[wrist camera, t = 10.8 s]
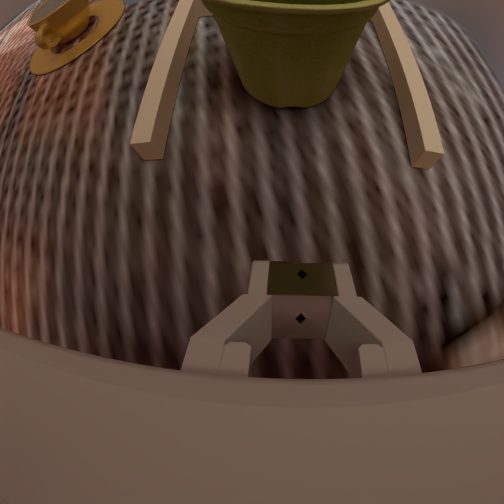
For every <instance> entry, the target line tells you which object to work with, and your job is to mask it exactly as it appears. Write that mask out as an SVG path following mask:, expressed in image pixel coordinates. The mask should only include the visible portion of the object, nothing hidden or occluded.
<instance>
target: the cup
mask: <svg viewBox="0 0 504 504" xmlns="http://www.w3.org/2000/svg"><path fill="white" fill-rule="evenodd" d="M124 9H125V4H124V2H123V1H121V0H102V1H98V2H95V3H93V4H90V5H89V0H46V1H45V2H44V3H43V4H42V5H41V6H40V7H38V8H37V9H36V11H35V12H34V13H33V14H32V15H31V16H30V18H29V20H28V22H27V24H28V26H29V27H31V28H32V29H33V30H34V31H35V32H36V35H35V41H36V44H37V45H38V47H37V49H36V50H35V52H34V54H33V56H32V58H31V61H30V71H31V73H33V74H35V75H41V74H46V73H49V72H51V71H53V70H56V69H58V68H60V67H62V66H63V65H65V64H67V63H68V62H70V61H72V60H73V59H75V58H76V57H78V56H79V55H81V54H82V53H83V52H85V51H86V50H87V49H89V48H90V47H91V46H93V45H94V44H95V43H96V42H97V41H99V40H100V39H101V38H102V37H103V36H104V35H105V34H106V33H107V32H108V31H109V30H110V29H111V28H112V27H113V26H114V25H115V24H116V23H117V22H118V20H119V19H120V17H121V16H122V14H123V12H124ZM92 15H96V16H98V17H99V23H98V25H97V26H96V28H95V29H94V30H93V31H92V32H91V33H90V34H89V35H88V36H87V37H86V38H85V39H83V40H82V41H81V42H79V43H78V44H77V45H75V46H74V47H72V48H70V49H68V50H66V51H64V52H62V53H58V54H54V53H52V52H51V48H53V47H55V46H56V45H57V44H58V43H67V42H70V41H72V40H74V39H75V38H77V37H78V36H79V35H80V34H82V33H83V32H84V31H85V29H86V28H87V26H88V24H89V16H92Z"/></svg>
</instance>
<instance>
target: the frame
mask: <svg viewBox="0 0 504 504" xmlns="http://www.w3.org/2000/svg"><path fill="white" fill-rule="evenodd" d="M204 16H213V14H212V13H211V12H210V11H209V10H208V9H207V8H206V7H205V6H204V4H203V3H202V1H201V0H180V1H179V3H178V5H177V7H176V10H175V12H174V14H173V16H172V19H171V21H170V23H169V26H168V28H167V31H166V33H165V36H164V38H163V41H162V43H161V46H160V48H159V51H158V54H157V57H156V59H155V62H154V65H153V68H152V71H151V74H150V76H149V79H148V82H147V86H146V89H145V92H144V95H143V98H142V102H141V105H140V108H139V112H138V115H137V119H136V123H135V126H134V130H133V134H132V138H131V142H130V145H131V146H132V147H133V148H134V149H135V150H136V151H137V153H138V154H139V155H140V156H141V157H142V158H143V159H144V160H156V159H163V157H164V151H165V146H166V141H167V136H168V131H169V126H170V122H171V117H172V113H173V108H174V104H175V100H176V96H177V91H178V87H179V83H180V80H181V76H182V72H183V68H184V65H185V61H186V57H187V54H188V50H189V47H190V44H191V40H192V37H193V34H194V30H195V27H196V24H197V21H198V18H199V17H204ZM370 21H372V22H373V25H374V27H375V30H376V33H377V35H378V38H379V41H380V44H381V46H382V49H383V52H384V55H385V58H386V62H387V65H388V68H389V71H390V74H391V78H392V81H393V85H394V88H395V92H396V96H397V100H398V104H399V108H400V112H401V116H402V120H403V125H404V130H405V134H406V139H407V145H408V150H409V155H410V161H411V167H417V168H424V169H430V168H431V167H432V166H433V165H434V164H435V163H436V162H437V161H438V160H439V159H440V157H441V156H442V155H443V154H444V151H443V147H442V143H441V139H440V135H439V131H438V127H437V123H436V120H435V116H434V113H433V109H432V106H431V103H430V100H429V97H428V94H427V91H426V88H425V85H424V82H423V79H422V76H421V74H420V71H419V68H418V66H417V63H416V60H415V58H414V56H413V53H412V51H411V48H410V46H409V44H408V41H407V39H406V37H405V35H404V32H403V30H402V28H401V26H400V24H399V22H398V20H397V18H396V16H395V14H394V12H393V10H392V8H391V6H390V4H389V2H387V3H386V4H384V5H382V6H380V7H379V8H378V10H377V12H376V13H375V15H374V16H373V17H372V18H371V19H370Z"/></svg>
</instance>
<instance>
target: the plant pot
mask: <svg viewBox="0 0 504 504" xmlns="http://www.w3.org/2000/svg"><path fill="white" fill-rule="evenodd" d="M201 1H202V3H203V4H204V6H205V7H206V8H207V9H208V10H209V11H210V12H211V13H212V14H213V16H214V18H215V20H216V22H217V25H218V27H219V29H220V31H221V34H222V36H223V38H224V41H225V43H226V46H227V48H228V50H229V53H230V55H231V57H232V60H233V62H234V65H235V67H236V70H237V72H238V75H239V77H240V80H241V82H242V84H243V86H244V88H245V89H246V91H247V92H248V93H249V94H250V95H251V96H252V97H254V98H255V99H257V100H258V101H260V102H262V103H265V104H267V105H270V106H273V107H277V108H282V107H303V108H307V107H311V106H314V105H317V104H319V103H321V102H323V101H325V100H326V99H327V98H329V97H330V96H331V94H332V93H333V92H334V90H335V89H336V86H337V84H338V82H339V80H340V78H341V76H342V74H343V71H344V69H345V67H346V65H347V62H348V60H349V58H350V56H351V54H352V52H353V50H354V48H355V45H356V43H357V41H358V39H359V37H360V35H361V33H362V31H363V29H364V27H365V25H366V23H367V21H369V20H370V19H371V18H372V17H373V16H374V15H375V13H376V12H377V10H378V8H379V7H380V6H382V5H384V4H386V3H387V2H388V1H389V0H201Z"/></svg>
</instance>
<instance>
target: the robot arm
mask: <svg viewBox="0 0 504 504" xmlns="http://www.w3.org/2000/svg"><path fill="white" fill-rule="evenodd" d="M271 338H301V339H325V341H326V343H327V344H328V345H329V347H330V348H331V349H332V351H333V352H334V353H335V355H336V356H337V357H338V359H339V360H340V361H341V363H342V364H343V365H344V366H345V368H346V369H347V370H348V372H349V375H348V377H347V379H279V378H257V377H253V370H252V363H253V362H254V361H255V359H256V358H257V357H258V356H259V354H260V353H261V352H262V351H263V350H264V348H265V347H266V346H267V345H268V343H269V342H270V341H271ZM0 504H504V359H502V360H498V361H493V362H488V363H483V364H478V365H472V366H467V367H461V368H455V369H448V370H441V371H434V372H426V373H422V371H421V367H420V364H419V360H418V357H417V354H416V350H415V347H414V344H413V341H412V340H411V339H410V338H409V337H408V336H406V335H405V334H404V333H403V332H402V331H401V330H400V329H398V328H397V327H396V326H395V325H394V324H393V323H391V322H390V321H389V320H388V319H387V318H386V317H384V316H383V315H382V314H381V313H380V312H379V311H378V310H376V309H375V308H374V307H373V306H372V305H370V304H369V303H368V302H367V301H366V300H365V299H363V298H362V297H357V295H356V291H355V287H354V283H353V279H352V275H351V271H350V267H349V264H348V263H301V262H280V261H270V262H269V261H253V263H252V269H251V275H250V281H249V288H248V294H242V295H241V296H240V297H239V298H238V299H236V300H235V301H234V302H233V303H232V304H230V305H229V306H228V307H227V308H226V309H224V310H223V311H222V312H221V313H219V314H218V315H217V316H216V317H215V318H213V319H212V320H211V321H210V322H208V323H207V324H206V325H205V326H204V327H202V328H201V329H200V330H199V331H197V332H196V333H195V334H194V335H193V336H191V338H190V341H189V344H188V347H187V351H186V354H185V357H184V360H183V364H182V367H181V370H174V369H167V368H161V367H154V366H148V365H142V364H137V363H131V362H126V361H121V360H116V359H111V358H106V357H101V356H97V355H92V354H88V353H84V352H80V351H76V350H72V349H68V348H64V347H60V346H57V345H53V344H49V343H46V342H42V341H39V340H36V339H32V338H29V337H26V336H23V335H20V334H17V333H14V332H11V331H8V330H5V329H2V328H0Z"/></svg>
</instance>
